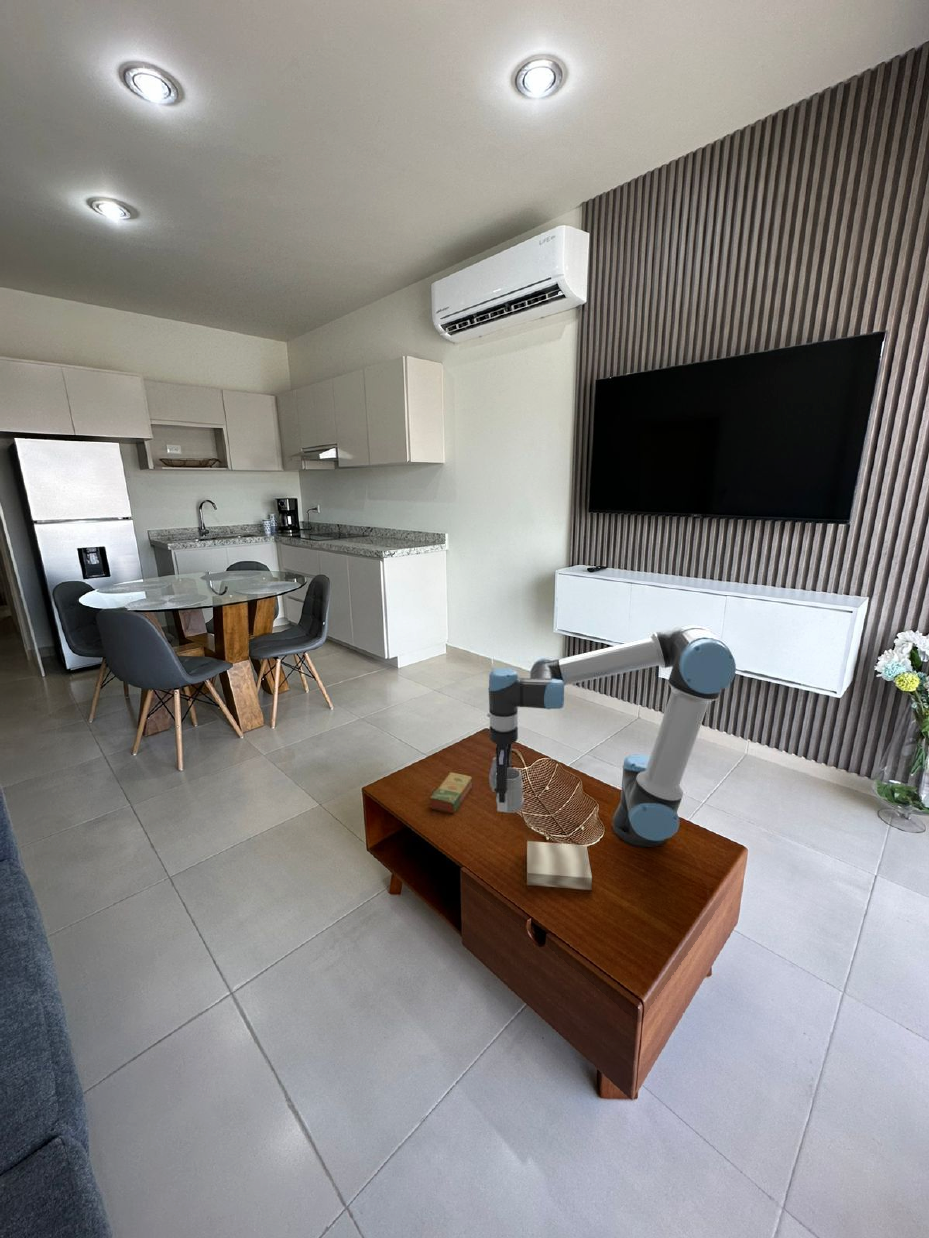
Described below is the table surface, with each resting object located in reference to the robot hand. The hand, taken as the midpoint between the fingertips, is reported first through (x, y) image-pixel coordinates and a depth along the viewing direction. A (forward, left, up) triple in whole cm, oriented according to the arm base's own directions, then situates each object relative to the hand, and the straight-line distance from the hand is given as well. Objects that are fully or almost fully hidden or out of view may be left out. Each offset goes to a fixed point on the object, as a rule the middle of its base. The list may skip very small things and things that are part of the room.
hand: (504, 800), depth 141 cm
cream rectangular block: (-15, +7, -15) cm, 22 cm away
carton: (+19, -20, -15) cm, 31 cm away
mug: (0, -1, -1) cm, 2 cm away
